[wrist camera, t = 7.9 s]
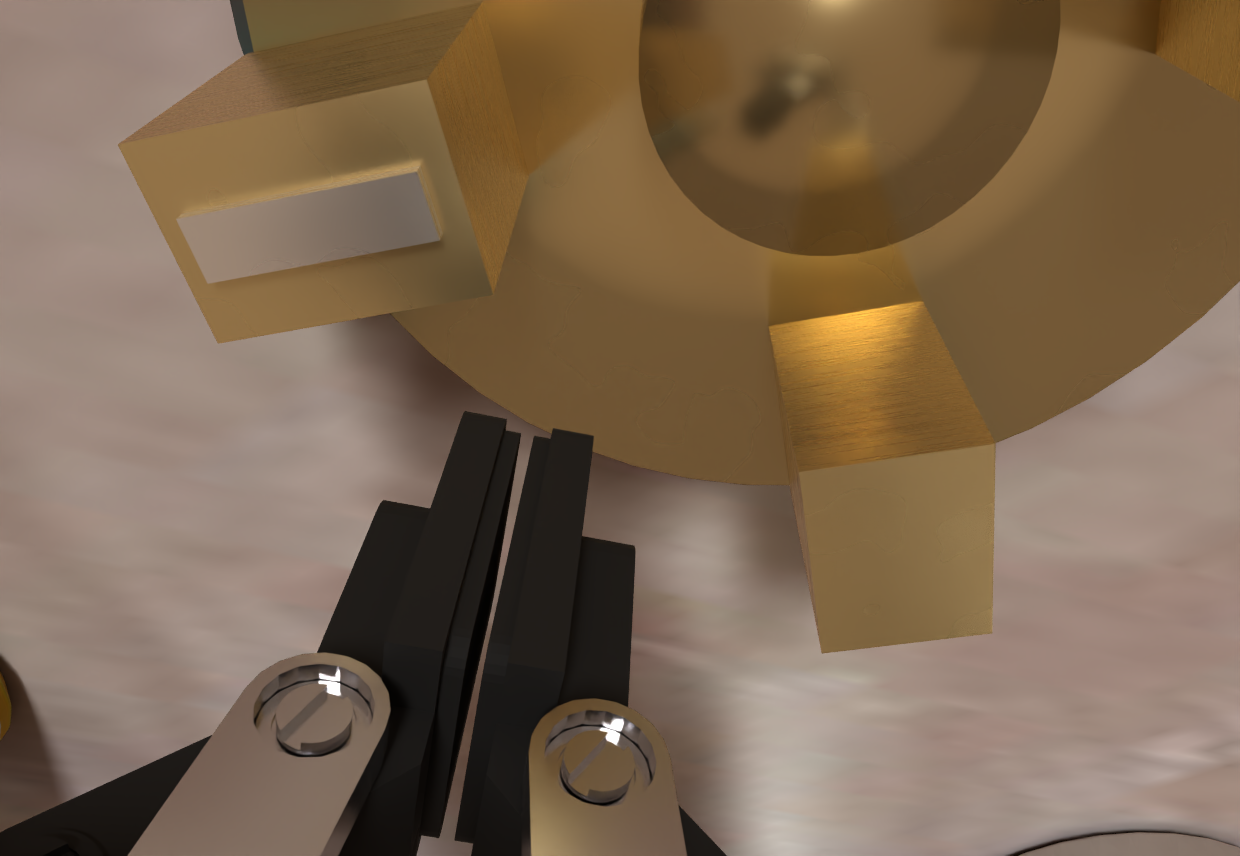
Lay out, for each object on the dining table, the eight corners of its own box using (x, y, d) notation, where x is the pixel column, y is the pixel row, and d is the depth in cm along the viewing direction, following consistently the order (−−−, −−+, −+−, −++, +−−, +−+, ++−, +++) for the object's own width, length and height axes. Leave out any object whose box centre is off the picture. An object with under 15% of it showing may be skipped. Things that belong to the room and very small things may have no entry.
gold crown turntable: (1272, 360, 18) (1506, 584, 13) (458, 482, 20) (396, 713, 15) (1560, -1051, 9) (2609, -1996, 4) (63, -566, 11) (-387, -821, 6)
